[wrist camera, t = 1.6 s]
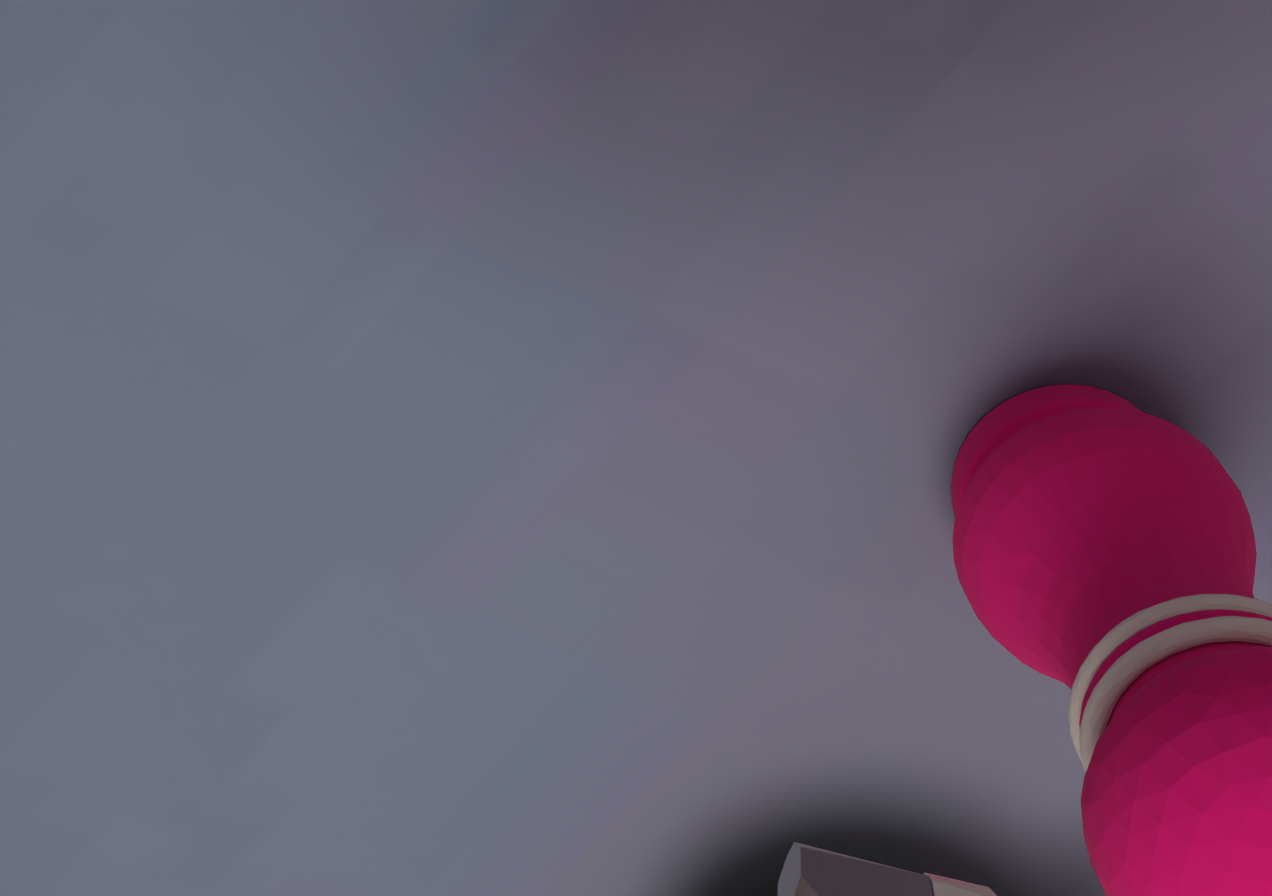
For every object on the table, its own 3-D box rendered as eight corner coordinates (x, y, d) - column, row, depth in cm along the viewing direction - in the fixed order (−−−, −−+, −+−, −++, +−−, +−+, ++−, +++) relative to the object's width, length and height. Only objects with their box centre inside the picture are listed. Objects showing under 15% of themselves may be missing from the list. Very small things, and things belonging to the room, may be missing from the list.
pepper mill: (1217, 386, 32) (1836, 859, 13) (1146, 609, 34) (1581, 1273, 16) (962, 348, 32) (1207, 751, 14) (911, 570, 35) (1058, 1167, 16)
